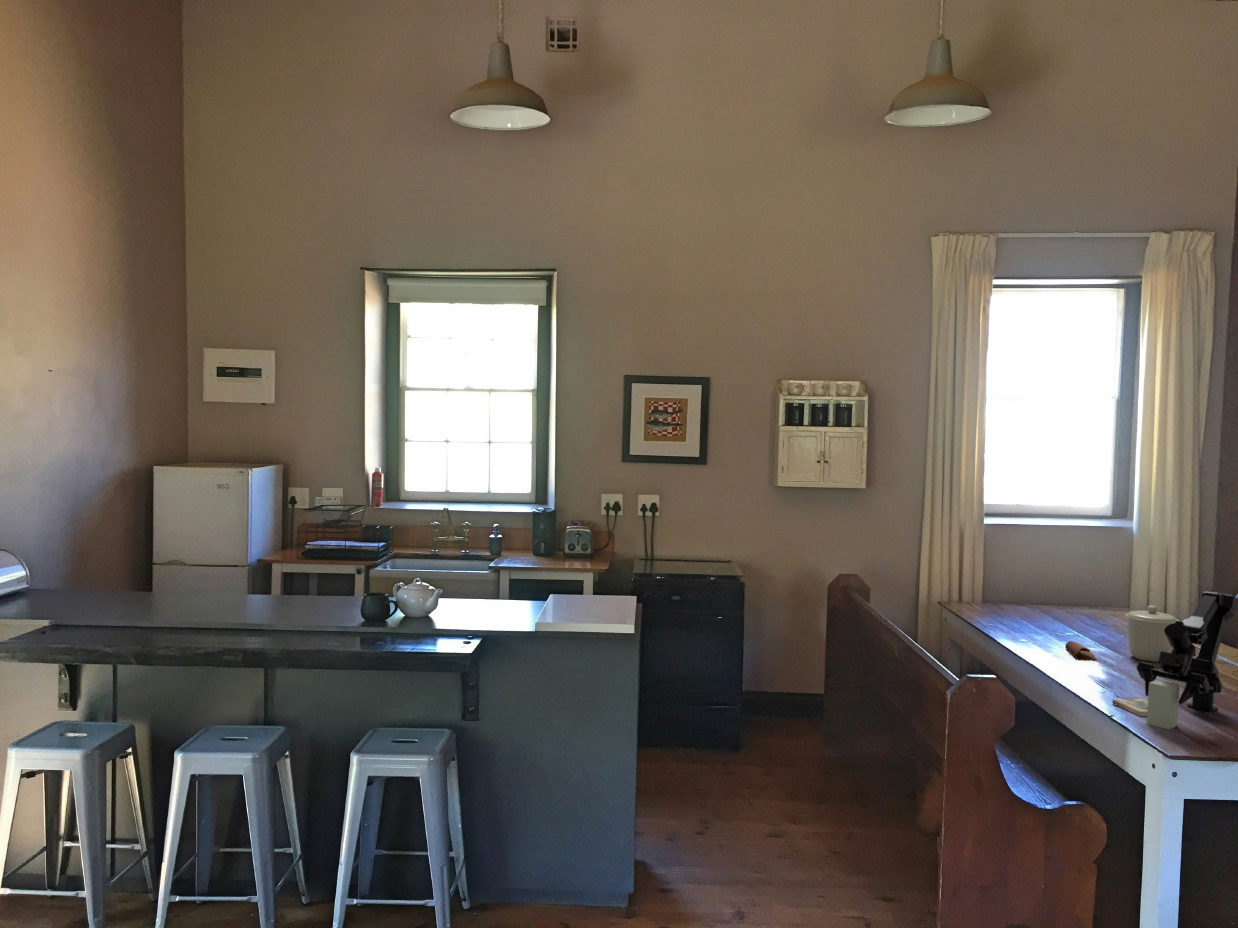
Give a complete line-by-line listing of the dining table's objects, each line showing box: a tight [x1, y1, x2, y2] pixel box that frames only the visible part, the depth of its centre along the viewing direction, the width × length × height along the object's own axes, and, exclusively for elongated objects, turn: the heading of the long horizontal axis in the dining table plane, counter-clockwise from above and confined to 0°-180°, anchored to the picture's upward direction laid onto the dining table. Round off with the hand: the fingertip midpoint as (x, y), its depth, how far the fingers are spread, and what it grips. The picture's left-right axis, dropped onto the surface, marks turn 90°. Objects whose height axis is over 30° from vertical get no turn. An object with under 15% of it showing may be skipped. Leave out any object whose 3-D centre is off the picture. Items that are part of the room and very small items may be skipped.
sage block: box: [1146, 679, 1180, 730], centre depth 267 cm, size 6×6×12 cm
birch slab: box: [1111, 698, 1148, 717], centre depth 281 cm, size 12×12×2 cm
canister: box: [1124, 605, 1180, 663], centre depth 347 cm, size 18×18×21 cm
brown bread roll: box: [1064, 641, 1099, 662], centre depth 351 cm, size 18×7×7 cm, turn 166°
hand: (1162, 699), depth 266 cm, fingers open, 9 cm apart
